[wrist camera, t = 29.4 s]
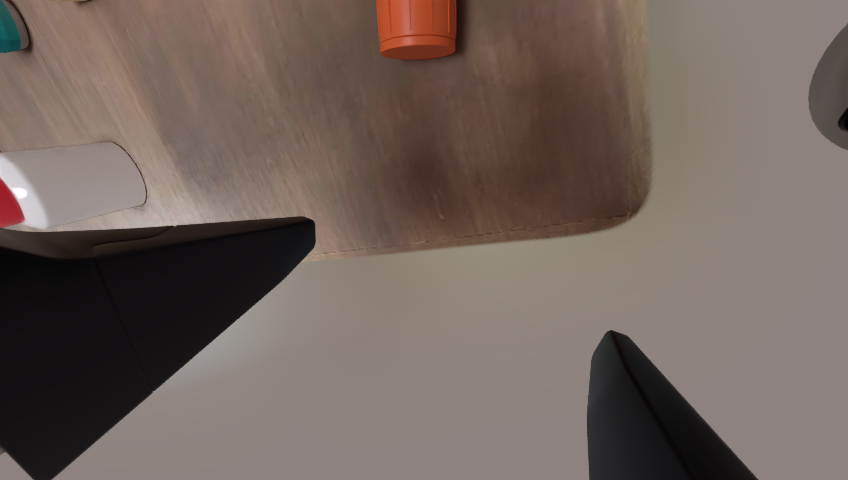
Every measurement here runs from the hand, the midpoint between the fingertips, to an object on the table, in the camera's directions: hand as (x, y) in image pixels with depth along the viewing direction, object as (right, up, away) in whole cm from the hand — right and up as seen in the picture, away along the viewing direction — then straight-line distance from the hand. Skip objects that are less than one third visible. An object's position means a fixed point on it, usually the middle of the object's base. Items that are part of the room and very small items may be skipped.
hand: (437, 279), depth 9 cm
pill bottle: (-37, +9, +28) cm, 47 cm away
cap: (-1, +14, +6) cm, 15 cm away
